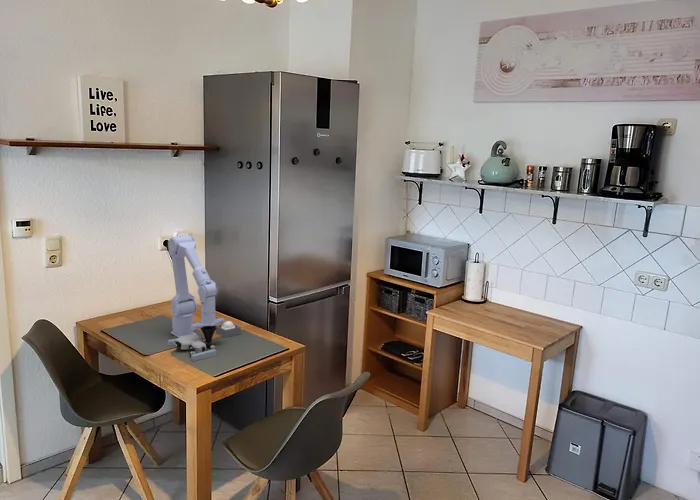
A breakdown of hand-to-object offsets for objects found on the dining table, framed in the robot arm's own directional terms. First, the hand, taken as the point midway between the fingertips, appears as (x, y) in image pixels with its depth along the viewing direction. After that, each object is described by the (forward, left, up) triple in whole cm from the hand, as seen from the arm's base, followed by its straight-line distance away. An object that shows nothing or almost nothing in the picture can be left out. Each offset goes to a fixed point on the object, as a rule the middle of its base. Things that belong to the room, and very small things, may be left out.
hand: (208, 342), depth 225 cm
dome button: (-8, +14, 0) cm, 16 cm away
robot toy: (0, -7, -2) cm, 7 cm away
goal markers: (0, -8, -1) cm, 8 cm away
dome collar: (-8, +14, -1) cm, 17 cm away
